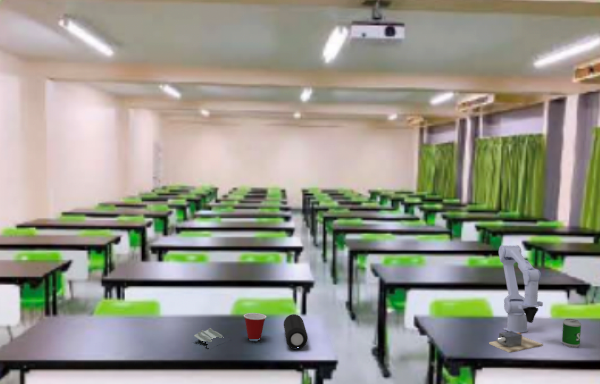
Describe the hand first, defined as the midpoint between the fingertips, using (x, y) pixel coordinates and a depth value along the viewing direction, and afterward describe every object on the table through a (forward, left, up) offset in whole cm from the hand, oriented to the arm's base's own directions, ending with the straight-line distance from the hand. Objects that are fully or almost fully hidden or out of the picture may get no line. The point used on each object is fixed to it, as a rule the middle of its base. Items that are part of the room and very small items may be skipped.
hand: (529, 322), depth 249 cm
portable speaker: (+104, -45, -10) cm, 114 cm away
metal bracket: (+141, -60, -10) cm, 153 cm away
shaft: (+15, +1, -7) cm, 17 cm away
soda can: (-14, +12, -10) cm, 21 cm away
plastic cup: (+121, -54, -10) cm, 133 cm away
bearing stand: (+10, +1, -9) cm, 14 cm away
